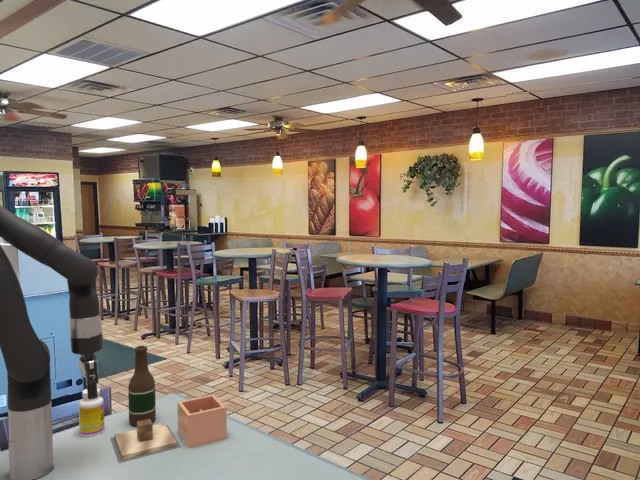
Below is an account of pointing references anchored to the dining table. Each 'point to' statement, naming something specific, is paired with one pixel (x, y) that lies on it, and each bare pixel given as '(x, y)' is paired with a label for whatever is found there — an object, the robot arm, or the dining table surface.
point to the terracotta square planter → (202, 420)
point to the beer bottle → (141, 390)
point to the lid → (144, 439)
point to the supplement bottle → (91, 415)
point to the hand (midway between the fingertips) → (90, 393)
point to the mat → (141, 455)
